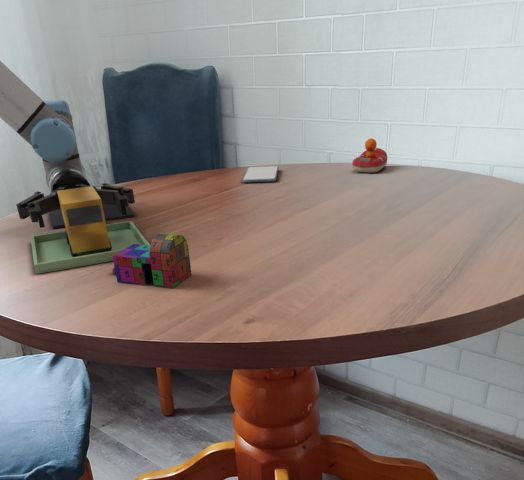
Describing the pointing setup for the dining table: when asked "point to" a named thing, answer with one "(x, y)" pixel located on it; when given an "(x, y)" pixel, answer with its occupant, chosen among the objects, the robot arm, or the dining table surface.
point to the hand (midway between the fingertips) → (82, 213)
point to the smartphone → (261, 174)
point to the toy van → (83, 220)
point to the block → (154, 261)
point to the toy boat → (370, 158)
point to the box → (59, 256)
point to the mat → (109, 210)
